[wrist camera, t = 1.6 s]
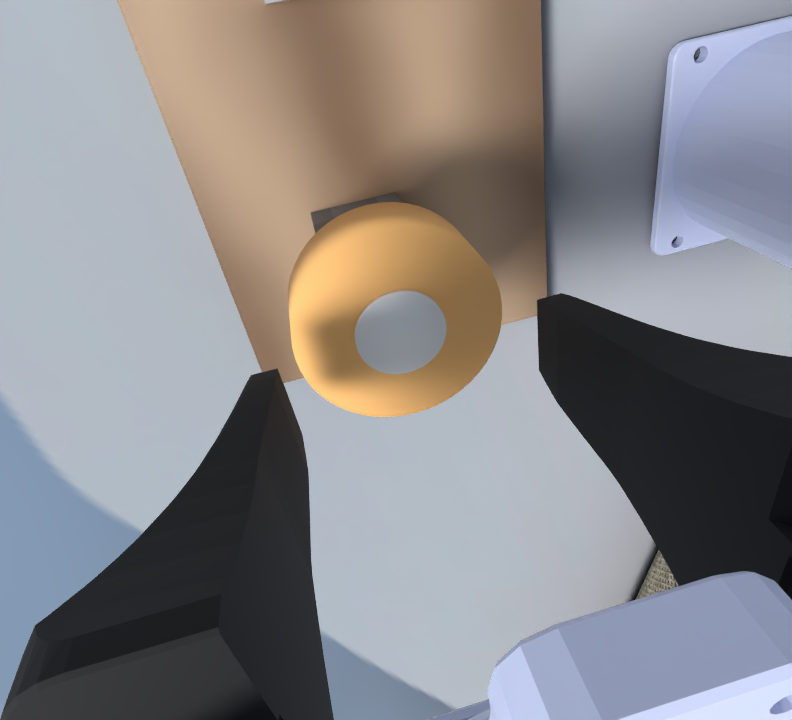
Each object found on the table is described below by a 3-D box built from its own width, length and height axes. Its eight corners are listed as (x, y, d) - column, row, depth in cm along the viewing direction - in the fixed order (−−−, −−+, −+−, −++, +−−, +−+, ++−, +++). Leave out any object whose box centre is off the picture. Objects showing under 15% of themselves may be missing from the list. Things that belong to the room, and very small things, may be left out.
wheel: (442, 159, 16) (497, 204, 13) (462, 317, 20) (510, 391, 16) (261, 203, 16) (261, 263, 12) (310, 357, 19) (322, 443, 15)
